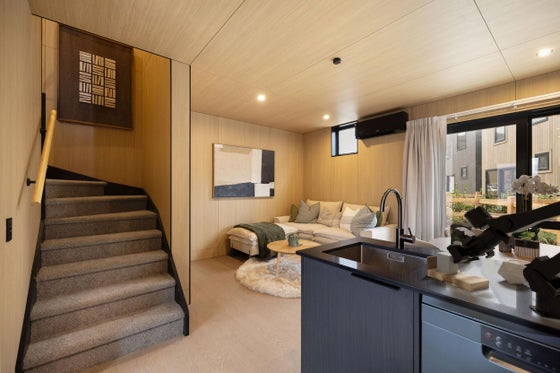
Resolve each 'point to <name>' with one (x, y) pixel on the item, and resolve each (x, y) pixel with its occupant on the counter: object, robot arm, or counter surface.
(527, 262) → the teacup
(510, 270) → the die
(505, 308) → the counter surface
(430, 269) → the trap box
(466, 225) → the coffee jar
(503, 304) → the counter surface
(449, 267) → the gray block
